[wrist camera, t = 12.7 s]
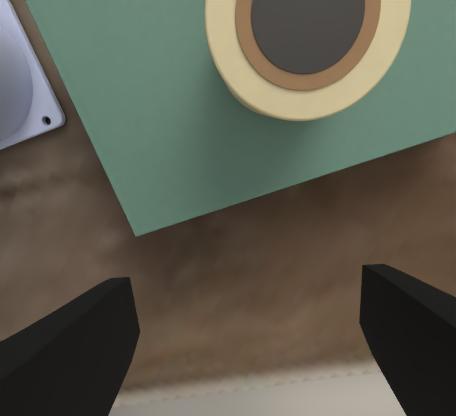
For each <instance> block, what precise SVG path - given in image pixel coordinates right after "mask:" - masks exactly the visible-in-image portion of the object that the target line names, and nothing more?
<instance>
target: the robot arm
mask: <svg viewBox="0 0 456 416" xmlns="http://www.w3.org/2000/svg"><path fill="white" fill-rule="evenodd" d="M46 117H49V118H50V120H51V123H50V125H48V124H47V123H46ZM65 120H66V118H65V114H64V112H63V110H62V108H61V106H60V104H59V102H58V100H57V98H56V96H55V94H54V91H53V89H52V87H51V85H50V83H49V81H48V79H47V77H46V75H45V73H44V71H43V69H42V66H41V64H40V62H39V60H38V58H37V56H36V54H35V52H34V50H33V48H32V46H31V44H30V42H29V39H28V37H27V35H26V33H25V31H24V29H23V27H22V25H21V23H20V21H19V19H18V17H17V14H16V12H15V10H14V8H13V6H12V4H11V2H10V0H0V150H1V149H4V148H7V147H9V146H12V145H14V144H17V143H19V142H22V141H24V140H27V139H30V138H32V137H35V136H37V135H40V134H42V133H45V132H47V131H50V130H53V129H55V128H58V127H60V126H62V125H64V123H65ZM359 323H360V325H361V328H362V330H363V333H364V336H365V338H366V341H367V343H368V345H369V348H370V350H371V353H372V355H373V356H374V358H375V360H376V362H377V364H378V366H379V367H380V369H381V371H382V373H383V375H384V376H385V378H386V380H387V381H388V384H389V385H390V387H391V389H392V391H393V392H394V394H395V396H396V398H397V399H398V401H399V403H400V405H401V406H402V408H403V410H404V412H405V414H406V415H407V416H456V297H454V296H452V295H450V294H447V293H445V292H443V291H441V290H439V289H437V288H435V287H433V286H431V285H429V284H427V283H424V282H422V281H420V280H418V279H416V278H414V277H412V276H410V275H408V274H406V273H404V272H402V271H399V270H397V269H395V268H393V267H390V266H388V265H385V264H374V265H363V266H362V285H361V303H360V322H359ZM139 334H140V329H139V323H138V318H137V313H136V308H135V302H134V297H133V292H132V287H131V281H130V277H123V278H110V279H108V280H106V281H104V282H102V283H100V284H98V285H97V286H95V287H93V288H92V289H90V290H88V291H87V292H85V293H83V294H82V295H80V296H79V297H77V298H75V299H74V300H72V301H70V302H69V303H67V304H66V305H64V306H62V307H61V308H59V309H57V310H56V311H54V312H52V313H51V314H49V315H47V316H46V317H44V318H42V319H40V320H39V321H37V322H35V323H33V324H32V325H30V326H28V327H26V328H25V329H23V330H21V331H20V332H18V333H16V334H14V335H12V336H10V337H9V338H7V339H5V340H3V341H1V342H0V416H108V415H109V412H110V410H111V408H112V405H113V403H114V401H115V399H116V396H117V394H118V392H119V390H120V387H121V385H122V383H123V380H124V378H125V376H126V374H127V371H128V369H129V366H130V364H131V362H132V358H133V355H134V352H135V348H136V345H137V341H138V338H139Z"/></svg>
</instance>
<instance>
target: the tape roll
mask: <svg viewBox="0 0 456 416" xmlns="http://www.w3.org/2000/svg"><path fill="white" fill-rule="evenodd" d="M410 9H411V0H205V8H204V19H205V31H206V38H207V42H208V46H209V50H210V54H211V56H212V58H213V61H214V63H215V66H216V68H217V70H218V71H219V73H220V75H221V77H222V79H223V80H224V82H225V84H226V86H227V88H228V89H229V91H230V92H231V93H232V95H233V96H234V97H235V98H236V99H237V100H238V101H239V102H240V103H241V104H242V105H244V106H245V107H246V108H248V109H250V110H252V111H253V112H256V113H258V114H261V115H265V116H268V117H273V118H277V119H281V120H288V121H310V120H317V119H321V118H325V117H328V116H332V115H334V114H336V113H339V112H341V111H343V110H345V109H347V108H348V107H350V106H352V105H354V104H355V103H356V102H358V101H359V100H360V99H362V98H363V97H364V96H366V95H367V94H368V93H369V92H370V91H371V90H372V89H373V88H374V87H375V86H376V85H377V84H378V82H379V81H380V80H381V79H382V78H383V77H384V75H385V74H386V72H387V71H388V69H389V68H390V66H391V65H392V63H393V61H394V59H395V57H396V56H397V54H398V52H399V50H400V47H401V44H402V42H403V39H404V37H405V33H406V29H407V25H408V22H409V16H410Z"/></svg>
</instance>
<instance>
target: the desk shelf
mask: <svg viewBox="0 0 456 416" xmlns="http://www.w3.org/2000/svg"><path fill="white" fill-rule="evenodd" d="M25 2H26V4H27V6H28V8H29V10H30V12H31V14H32V17H33V19H34V21H35V23H36V25H37V27H38V29H39V31H40V34H41V36H42V38H43V40H44V42H45V44H46V46H47V49H48V51H49V53H50V55H51V57H52V59H53V61H54V64H55V66H56V68H57V70H58V72H59V74H60V76H61V78H62V81H63V83H64V85H65V87H66V89H67V91H68V93H69V96H70V98H71V100H72V102H73V104H74V106H75V108H76V110H77V113H78V115H79V117H80V119H81V121H82V123H83V125H84V128H85V130H86V132H87V134H88V136H89V138H90V140H91V142H92V145H93V147H94V149H95V151H96V153H97V155H98V157H99V160H100V162H101V164H102V166H103V168H104V170H105V172H106V175H107V177H108V179H109V181H110V183H111V185H112V187H113V189H114V192H115V194H116V196H117V198H118V200H119V202H120V204H121V207H122V209H123V211H124V213H125V215H126V217H127V219H128V221H129V224H130V226H131V228H132V230H133V232H134V234H135V236H140V235H143V234H146V233H149V232H152V231H155V230H158V229H161V228H165V227H168V226H171V225H174V224H177V223H180V222H183V221H186V220H189V219H192V218H195V217H198V216H201V215H204V214H207V213H210V212H213V211H217V210H220V209H223V208H226V207H229V206H232V205H235V204H238V203H241V202H244V201H247V200H250V199H253V198H256V197H259V196H262V195H266V194H269V193H272V192H275V191H278V190H281V189H284V188H287V187H290V186H293V185H296V184H299V183H302V182H305V181H308V180H311V179H314V178H318V177H321V176H324V175H327V174H330V173H333V172H336V171H339V170H342V169H345V168H348V167H351V166H354V165H357V164H360V163H363V162H366V161H370V160H373V159H376V158H379V157H382V156H385V155H388V154H391V153H394V152H397V151H400V150H403V149H406V148H409V147H412V146H415V145H419V144H422V143H425V142H428V141H431V140H434V139H437V138H440V137H443V136H446V135H449V134H452V133H455V132H456V0H411V9H410V16H409V22H408V25H407V29H406V33H405V37H404V39H403V42H402V44H401V47H400V50H399V52H398V54H397V56H396V57H395V59H394V61H393V63H392V65H391V66H390V68H389V69H388V71H387V72H386V74H385V75H384V77H383V78H382V79H381V80H380V81H379V82H378V84H377V85H376V86H375V87H374V88H373V89H372V90H371V91H370V92H369V93H368V94H367V95H366V96H364V97H363V98H362V99H360V100H359V101H358V102H356V103H355V104H354V105H352V106H350V107H348V108H347V109H345V110H343V111H341V112H339V113H336V114H334V115H332V116H328V117H325V118H321V119H317V120H310V121H288V120H281V119H277V118H273V117H268V116H265V115H261V114H258V113H256V112H253V111H252V110H250V109H248V108H246V107H245V106H244V105H242V104H241V103H240V102H239V101H238V100H237V99H236V98H235V97H234V96H233V95H232V93H231V92H230V91H229V89H228V88H227V86H226V84H225V82H224V80H223V79H222V77H221V75H220V73H219V71H218V70H217V68H216V66H215V63H214V61H213V58H212V56H211V54H210V50H209V46H208V42H207V38H206V31H205V19H204V8H205V0H25Z"/></svg>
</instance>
